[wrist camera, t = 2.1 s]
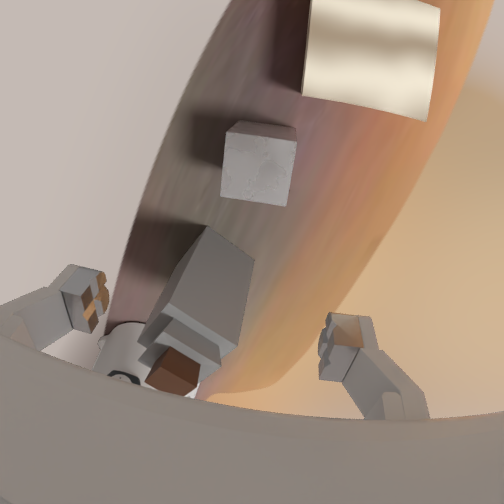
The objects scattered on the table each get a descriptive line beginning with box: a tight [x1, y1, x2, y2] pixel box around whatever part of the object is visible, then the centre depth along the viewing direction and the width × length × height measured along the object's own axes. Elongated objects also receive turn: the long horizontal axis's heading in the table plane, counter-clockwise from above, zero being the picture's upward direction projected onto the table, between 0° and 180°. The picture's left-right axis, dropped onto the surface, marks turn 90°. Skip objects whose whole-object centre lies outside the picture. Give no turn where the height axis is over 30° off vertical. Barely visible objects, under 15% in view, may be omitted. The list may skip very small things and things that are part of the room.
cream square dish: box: [301, 0, 440, 122], centre depth 23 cm, size 11×11×5 cm
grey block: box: [220, 120, 297, 206], centre depth 28 cm, size 6×6×7 cm
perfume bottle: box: [137, 226, 255, 396], centre depth 31 cm, size 7×7×18 cm
